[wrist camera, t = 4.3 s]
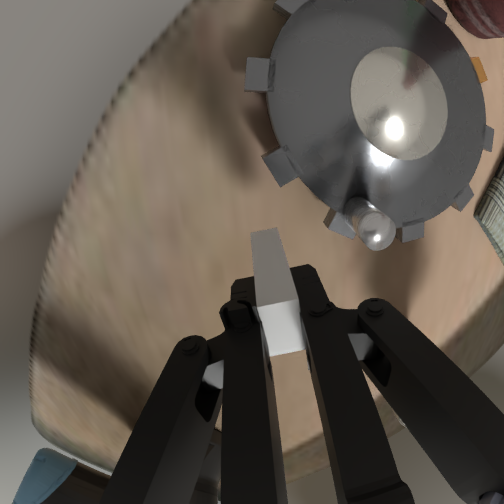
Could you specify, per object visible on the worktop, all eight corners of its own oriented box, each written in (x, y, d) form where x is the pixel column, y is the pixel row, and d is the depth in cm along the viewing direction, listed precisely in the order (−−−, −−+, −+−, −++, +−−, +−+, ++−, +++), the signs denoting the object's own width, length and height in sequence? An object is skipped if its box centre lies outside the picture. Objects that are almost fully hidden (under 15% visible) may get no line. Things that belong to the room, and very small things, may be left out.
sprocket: (279, 261, 20) (289, 301, 16) (217, -15, 11) (210, -51, 7) (482, 215, 19) (515, 237, 14) (458, 2, 10) (494, -7, 5)
